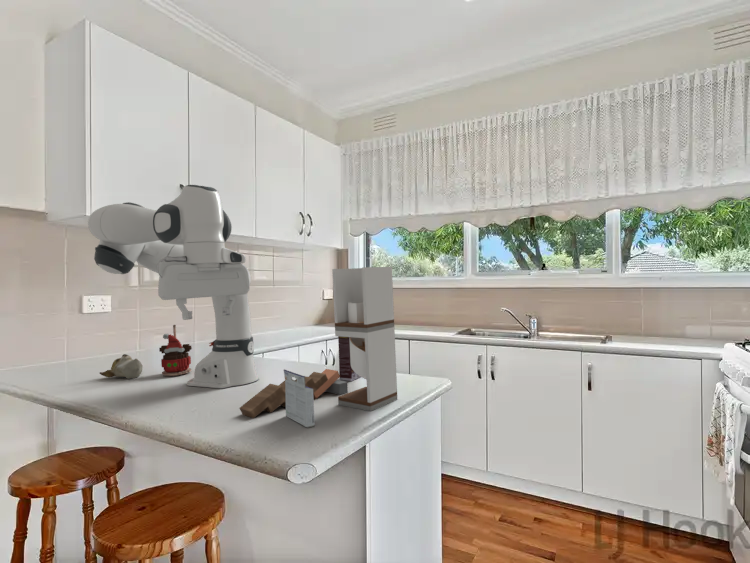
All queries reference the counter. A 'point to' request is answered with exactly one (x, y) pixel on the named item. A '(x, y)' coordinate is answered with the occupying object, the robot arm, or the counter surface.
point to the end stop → (338, 387)
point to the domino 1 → (261, 400)
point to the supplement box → (345, 360)
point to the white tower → (367, 332)
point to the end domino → (327, 382)
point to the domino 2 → (277, 400)
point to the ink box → (299, 399)
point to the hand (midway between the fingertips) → (207, 317)
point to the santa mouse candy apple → (175, 356)
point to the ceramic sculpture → (124, 368)
